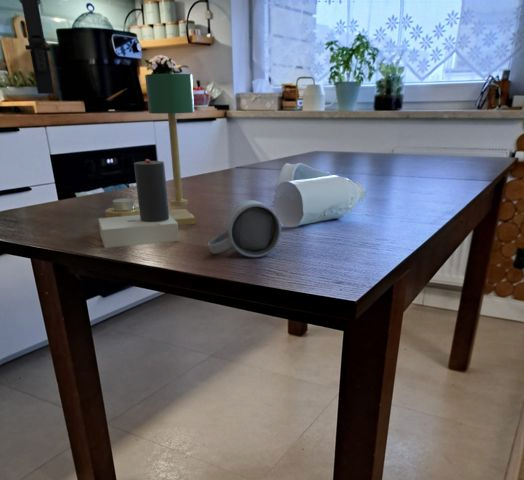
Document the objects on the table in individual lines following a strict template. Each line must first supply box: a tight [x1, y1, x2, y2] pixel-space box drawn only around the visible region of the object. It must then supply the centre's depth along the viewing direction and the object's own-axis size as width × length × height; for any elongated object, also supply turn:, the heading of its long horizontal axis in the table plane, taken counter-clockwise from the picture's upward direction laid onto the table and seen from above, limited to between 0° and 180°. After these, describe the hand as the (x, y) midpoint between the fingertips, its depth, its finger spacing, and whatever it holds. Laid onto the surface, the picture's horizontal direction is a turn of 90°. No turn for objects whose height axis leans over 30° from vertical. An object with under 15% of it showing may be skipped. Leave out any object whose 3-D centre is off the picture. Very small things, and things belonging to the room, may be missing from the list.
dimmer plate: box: [97, 215, 181, 249], centre depth 87 cm, size 14×9×3 cm, turn 110°
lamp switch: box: [112, 198, 134, 212], centre depth 95 cm, size 4×4×2 cm
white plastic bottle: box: [271, 174, 367, 228], centre depth 97 cm, size 8×19×8 cm, turn 128°
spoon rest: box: [274, 162, 331, 194], centre depth 127 cm, size 24×12×7 cm, turn 160°
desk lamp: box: [144, 73, 195, 207], centre depth 94 cm, size 8×8×22 cm
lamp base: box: [105, 205, 197, 226], centre depth 98 cm, size 16×9×3 cm, turn 110°
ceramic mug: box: [207, 199, 282, 258], centre depth 78 cm, size 11×8×8 cm
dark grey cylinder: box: [133, 158, 169, 222], centre depth 85 cm, size 5×5×9 cm
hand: (46, 93), depth 91 cm, fingers closed
